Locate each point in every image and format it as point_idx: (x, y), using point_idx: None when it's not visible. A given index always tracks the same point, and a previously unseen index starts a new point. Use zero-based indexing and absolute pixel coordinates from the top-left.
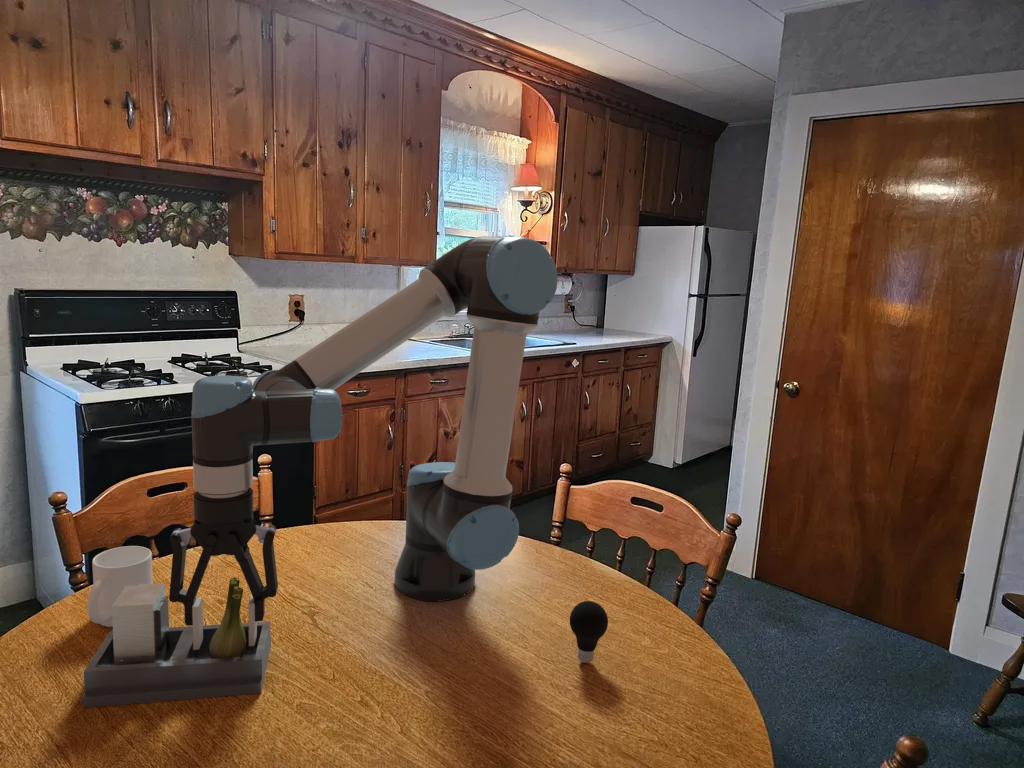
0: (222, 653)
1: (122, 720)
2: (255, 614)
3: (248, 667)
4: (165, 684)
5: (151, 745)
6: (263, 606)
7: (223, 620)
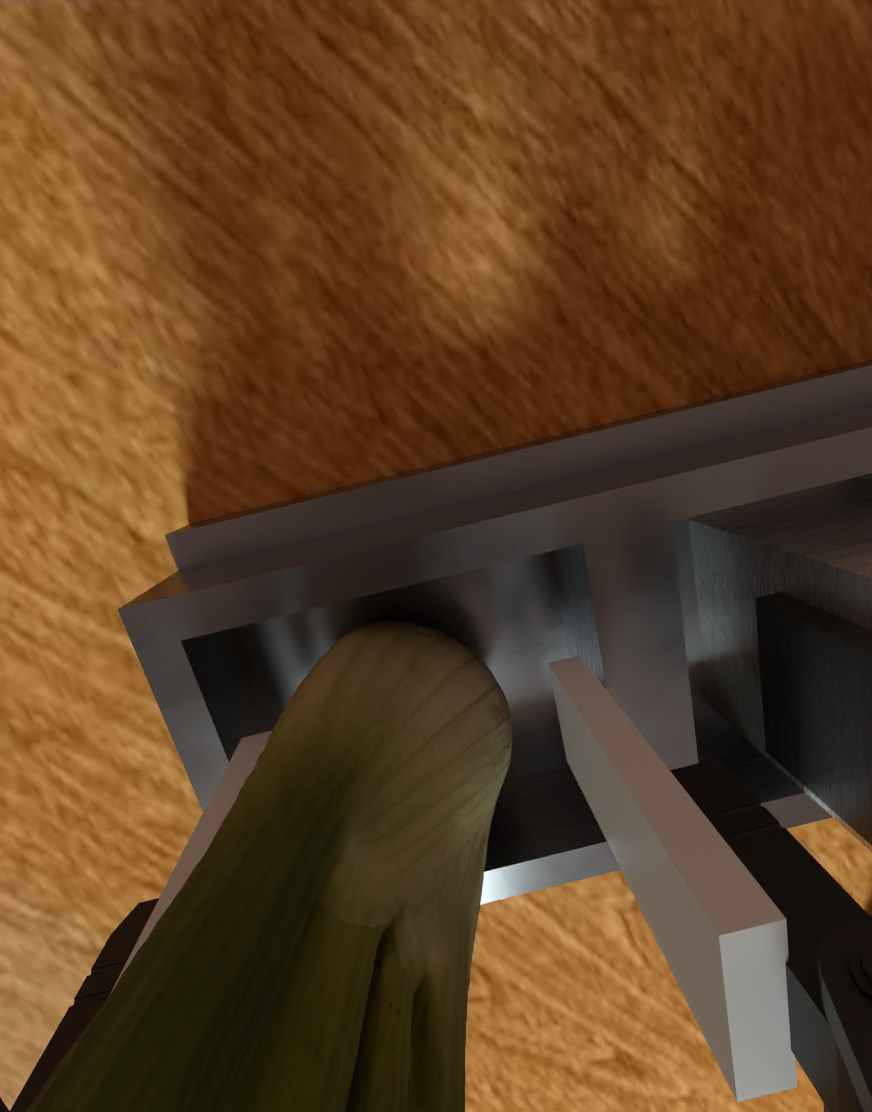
0: (393, 640)
1: (716, 276)
2: None
3: (217, 576)
4: (624, 464)
5: (517, 93)
6: (41, 1069)
7: (444, 859)
